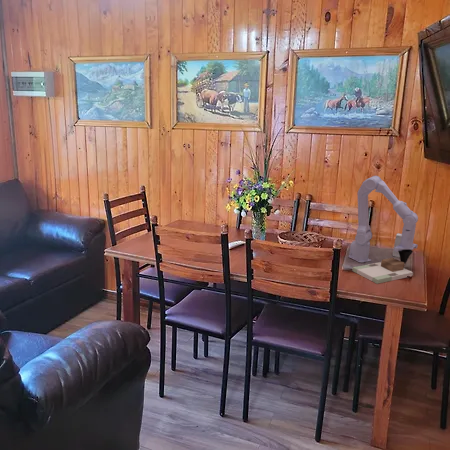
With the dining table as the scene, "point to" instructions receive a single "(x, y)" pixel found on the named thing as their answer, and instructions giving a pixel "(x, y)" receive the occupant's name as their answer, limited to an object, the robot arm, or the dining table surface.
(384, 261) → the walnut block
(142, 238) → the dining table surface
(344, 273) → the dining table surface
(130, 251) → the dining table surface
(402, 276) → the board
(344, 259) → the dining table surface
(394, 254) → the skincare box
